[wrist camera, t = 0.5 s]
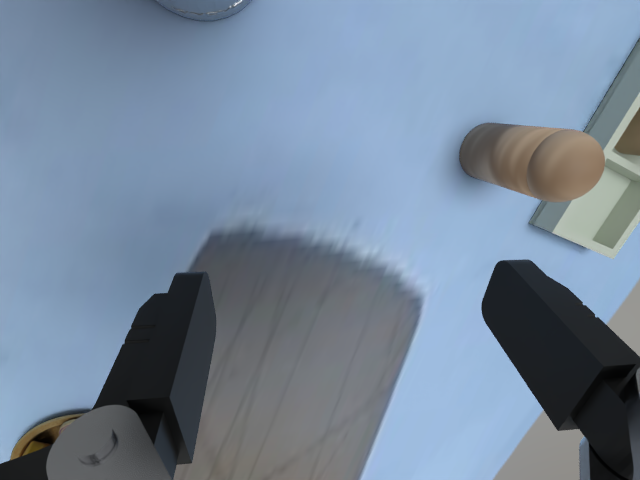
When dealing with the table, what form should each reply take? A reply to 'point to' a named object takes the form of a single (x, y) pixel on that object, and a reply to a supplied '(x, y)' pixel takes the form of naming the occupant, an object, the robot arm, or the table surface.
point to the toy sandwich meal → (42, 435)
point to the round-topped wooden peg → (534, 160)
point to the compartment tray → (606, 173)
